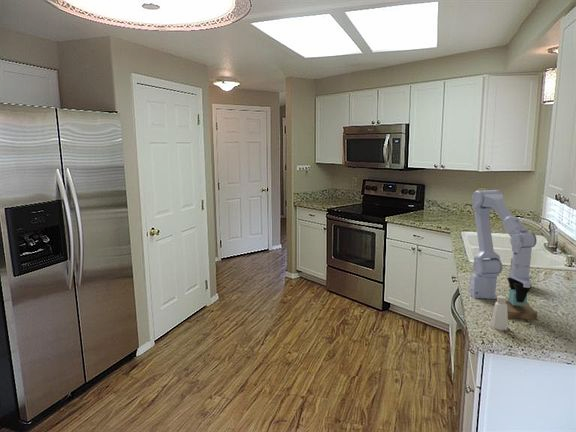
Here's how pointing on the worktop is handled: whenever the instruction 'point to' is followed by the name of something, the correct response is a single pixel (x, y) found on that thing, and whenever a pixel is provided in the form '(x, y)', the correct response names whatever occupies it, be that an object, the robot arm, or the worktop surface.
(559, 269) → the worktop surface
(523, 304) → the teal cube
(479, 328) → the worktop surface
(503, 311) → the pepper shaker
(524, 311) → the walnut block
